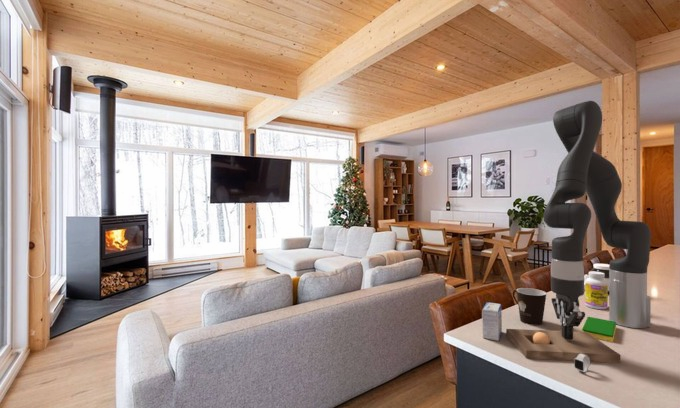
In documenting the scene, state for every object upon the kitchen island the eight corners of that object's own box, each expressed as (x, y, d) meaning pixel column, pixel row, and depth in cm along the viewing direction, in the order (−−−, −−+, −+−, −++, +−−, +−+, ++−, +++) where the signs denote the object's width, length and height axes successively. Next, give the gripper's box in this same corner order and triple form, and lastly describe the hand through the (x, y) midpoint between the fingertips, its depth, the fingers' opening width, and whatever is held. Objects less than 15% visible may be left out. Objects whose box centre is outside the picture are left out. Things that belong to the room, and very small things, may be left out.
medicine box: (498, 341, 95) (498, 311, 94) (482, 338, 97) (482, 309, 97) (501, 331, 101) (501, 303, 101) (486, 328, 104) (486, 301, 104)
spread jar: (622, 295, 136) (622, 267, 136) (594, 295, 136) (594, 267, 136) (599, 287, 148) (599, 261, 148) (574, 287, 148) (574, 262, 148)
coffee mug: (551, 327, 104) (551, 296, 104) (521, 325, 106) (521, 294, 106) (536, 314, 116) (536, 286, 115) (510, 313, 117) (510, 285, 117)
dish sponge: (582, 337, 98) (582, 328, 98) (587, 323, 108) (587, 316, 108) (612, 344, 93) (613, 335, 93) (616, 329, 103) (616, 321, 103)
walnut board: (586, 338, 96) (586, 331, 96) (620, 362, 82) (620, 354, 82) (506, 335, 99) (506, 328, 99) (526, 358, 85) (526, 350, 85)
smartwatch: (581, 367, 80) (581, 350, 80) (592, 371, 78) (592, 354, 78) (573, 371, 78) (573, 354, 78) (584, 375, 76) (583, 358, 76)
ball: (527, 336, 93) (538, 346, 93) (533, 343, 89) (545, 353, 89) (537, 326, 93) (548, 336, 92) (544, 333, 89) (556, 343, 88)
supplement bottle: (588, 308, 121) (588, 273, 120) (582, 303, 127) (582, 270, 127) (610, 310, 118) (610, 275, 118) (603, 305, 124) (604, 271, 124)
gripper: (597, 282, 83) (597, 350, 83) (568, 270, 96) (569, 329, 96) (564, 281, 84) (565, 349, 84) (541, 270, 97) (541, 328, 97)
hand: (567, 338), depth 90 cm, fingers closed
